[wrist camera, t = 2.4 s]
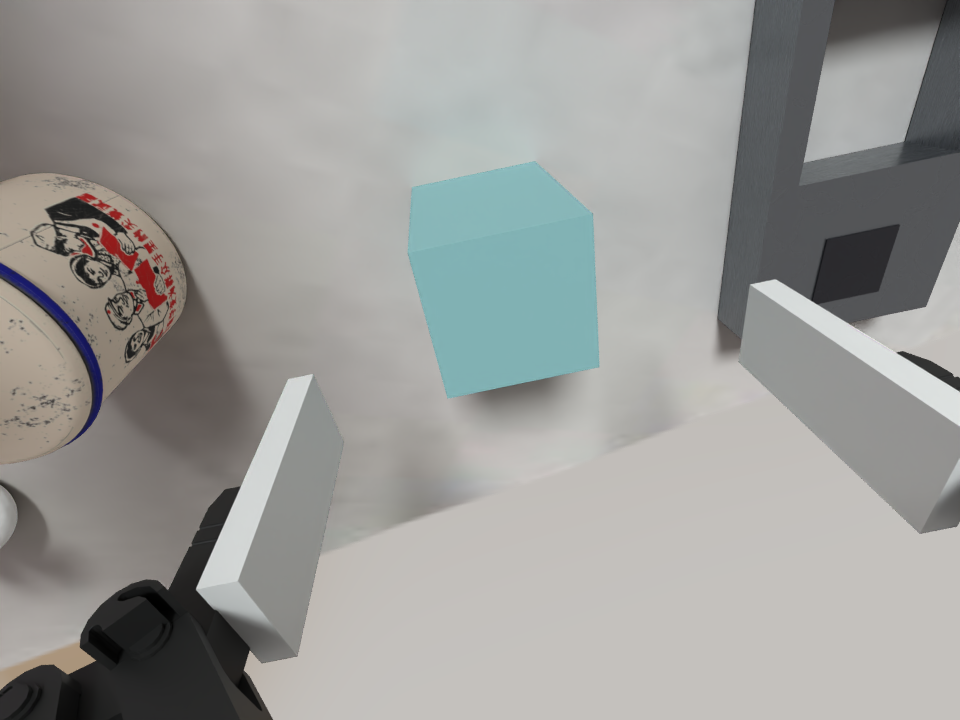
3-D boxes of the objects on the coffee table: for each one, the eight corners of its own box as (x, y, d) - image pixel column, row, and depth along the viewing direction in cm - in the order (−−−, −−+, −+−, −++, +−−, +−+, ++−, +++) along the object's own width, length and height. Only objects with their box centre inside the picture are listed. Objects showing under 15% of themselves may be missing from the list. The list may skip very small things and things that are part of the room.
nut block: (410, 187, 22) (406, 253, 15) (535, 161, 22) (594, 213, 15) (438, 298, 26) (446, 398, 18) (547, 276, 26) (600, 366, 18)
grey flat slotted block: (795, -327, 15) (871, -405, 13) (1102, -394, 15) (1242, -486, 12) (717, 318, 28) (747, 344, 26) (881, 284, 28) (927, 307, 26)
